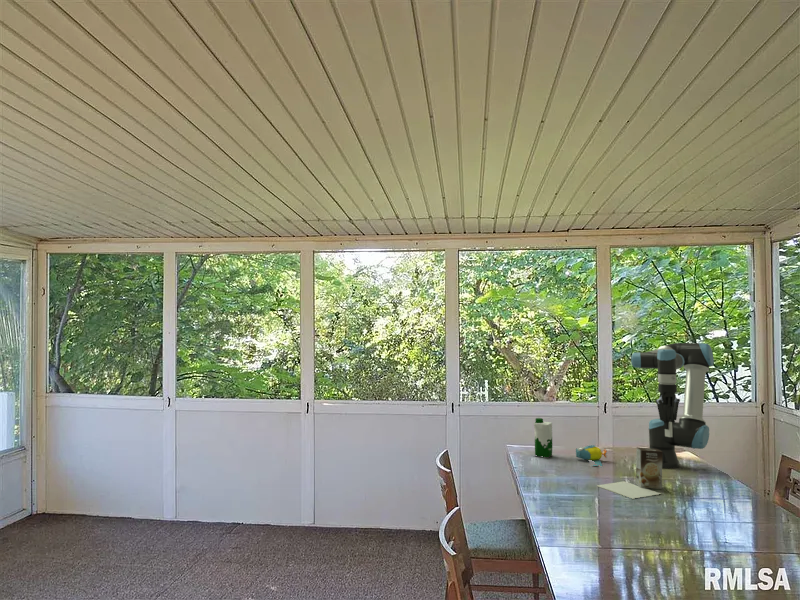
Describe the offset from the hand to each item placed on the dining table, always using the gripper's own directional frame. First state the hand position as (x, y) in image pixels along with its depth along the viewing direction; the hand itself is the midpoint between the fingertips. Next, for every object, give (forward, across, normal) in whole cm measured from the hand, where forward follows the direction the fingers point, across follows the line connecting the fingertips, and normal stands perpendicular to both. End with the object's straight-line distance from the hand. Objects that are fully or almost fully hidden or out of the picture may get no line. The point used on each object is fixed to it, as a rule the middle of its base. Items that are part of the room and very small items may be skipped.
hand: (668, 436), depth 241 cm
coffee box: (+21, -12, 0) cm, 24 cm away
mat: (+21, -24, 0) cm, 32 cm away
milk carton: (+21, -18, +66) cm, 72 cm away
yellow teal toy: (+22, -1, +48) cm, 53 cm away
